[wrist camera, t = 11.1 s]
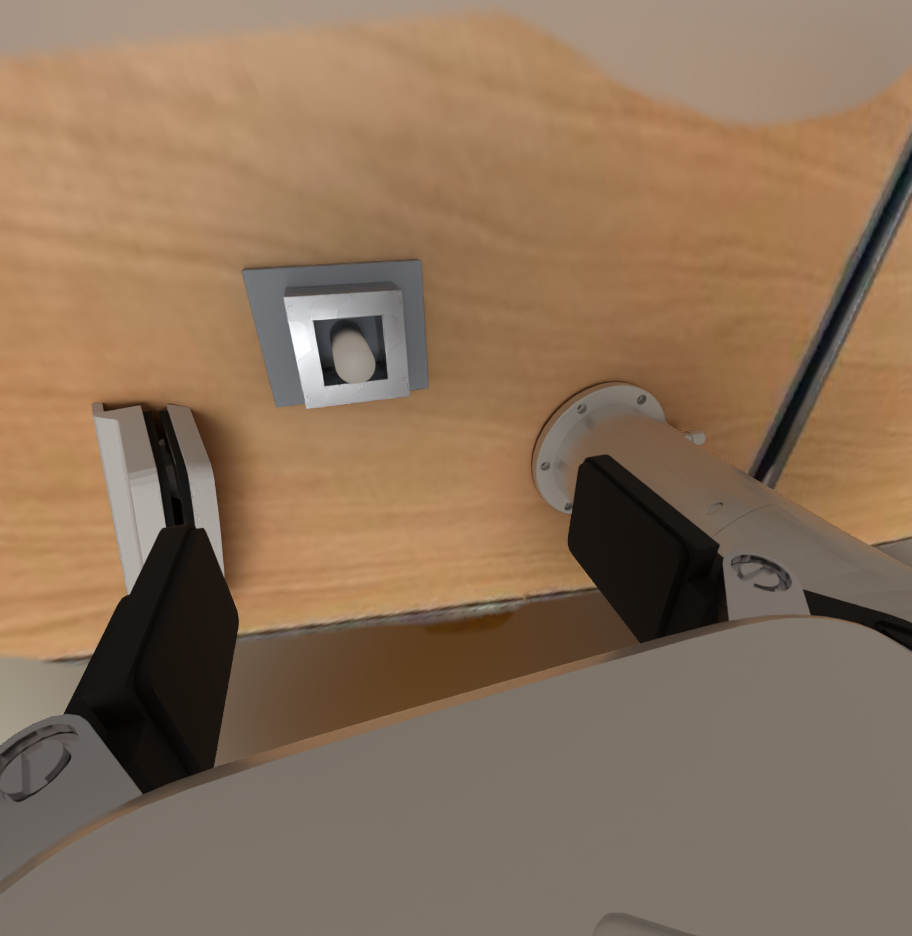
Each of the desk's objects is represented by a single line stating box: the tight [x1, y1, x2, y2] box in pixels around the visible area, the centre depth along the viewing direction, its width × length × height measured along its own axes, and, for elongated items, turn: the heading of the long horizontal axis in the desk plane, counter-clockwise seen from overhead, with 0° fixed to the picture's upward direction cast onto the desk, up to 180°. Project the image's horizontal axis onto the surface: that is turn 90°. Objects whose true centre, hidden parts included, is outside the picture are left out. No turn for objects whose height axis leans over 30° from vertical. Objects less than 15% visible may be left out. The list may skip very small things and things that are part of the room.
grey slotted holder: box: [92, 403, 225, 595], centre depth 27 cm, size 17×5×10 cm, turn 168°
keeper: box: [242, 259, 429, 407], centre depth 25 cm, size 10×8×7 cm
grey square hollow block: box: [283, 281, 410, 409], centre depth 25 cm, size 6×6×4 cm
